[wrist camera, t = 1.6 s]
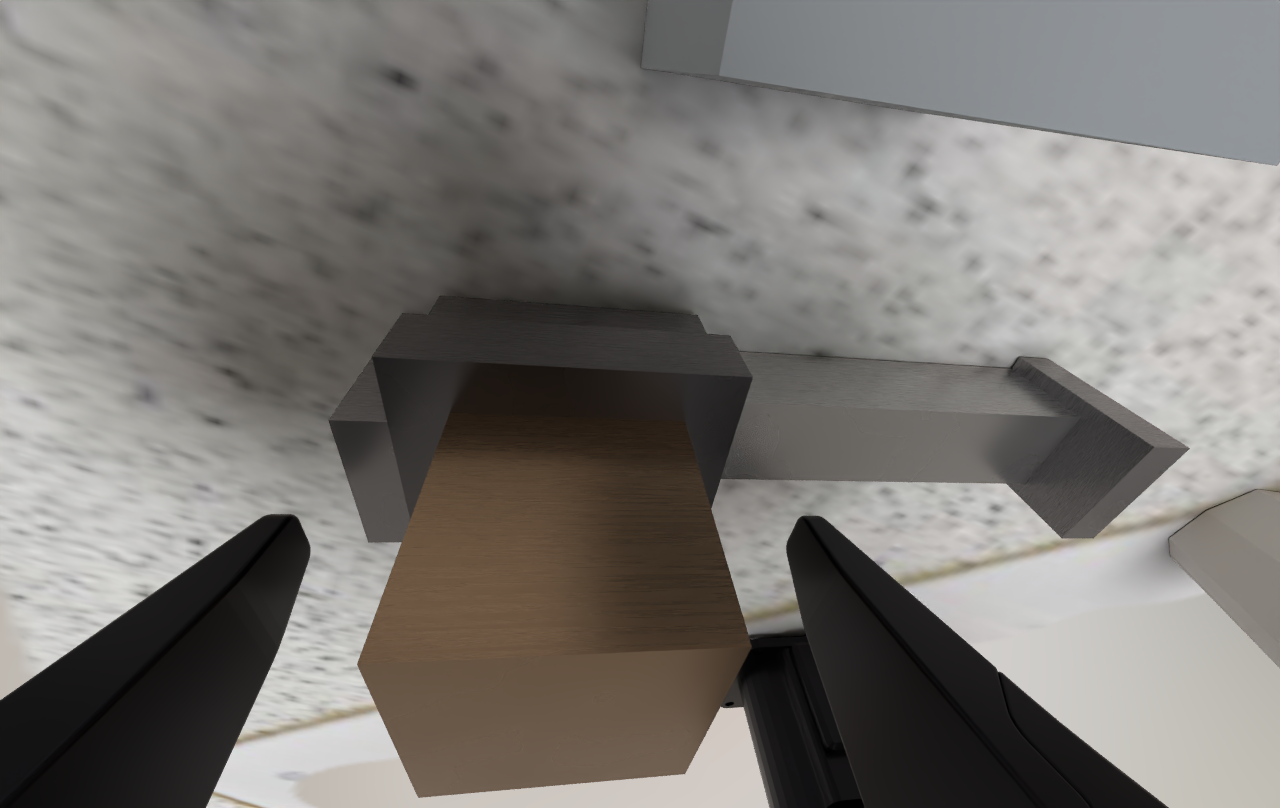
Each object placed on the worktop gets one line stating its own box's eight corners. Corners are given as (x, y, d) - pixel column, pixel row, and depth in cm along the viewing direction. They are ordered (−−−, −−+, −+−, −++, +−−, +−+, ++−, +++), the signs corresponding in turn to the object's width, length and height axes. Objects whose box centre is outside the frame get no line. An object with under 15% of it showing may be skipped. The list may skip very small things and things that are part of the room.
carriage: (663, 471, 14) (730, 788, 8) (461, 467, 14) (359, 824, 7) (703, 287, 11) (871, 592, 5) (435, 265, 10) (193, 611, 4)
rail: (988, 440, 16) (1093, 538, 12) (421, 421, 13) (368, 542, 10) (1048, 358, 14) (1189, 448, 11) (401, 315, 11) (327, 420, 8)
